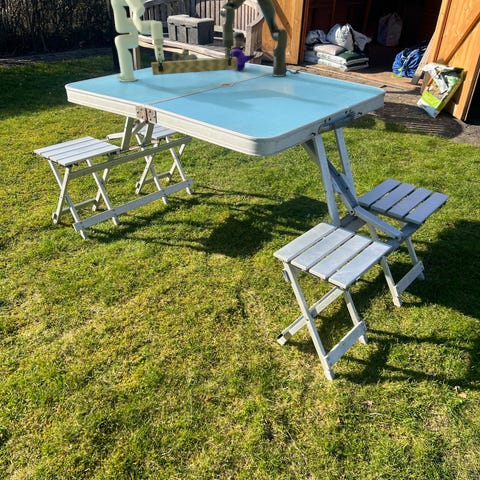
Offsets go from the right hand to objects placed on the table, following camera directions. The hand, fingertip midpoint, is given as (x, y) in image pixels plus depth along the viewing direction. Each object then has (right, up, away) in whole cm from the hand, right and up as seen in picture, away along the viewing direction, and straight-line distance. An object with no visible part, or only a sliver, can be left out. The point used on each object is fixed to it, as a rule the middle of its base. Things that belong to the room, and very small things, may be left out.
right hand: (228, 65), depth 317 cm
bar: (-23, -6, -4) cm, 24 cm away
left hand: (-47, -8, -10) cm, 48 cm away
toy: (+8, +18, +56) cm, 59 cm away
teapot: (-39, +24, +69) cm, 82 cm away
